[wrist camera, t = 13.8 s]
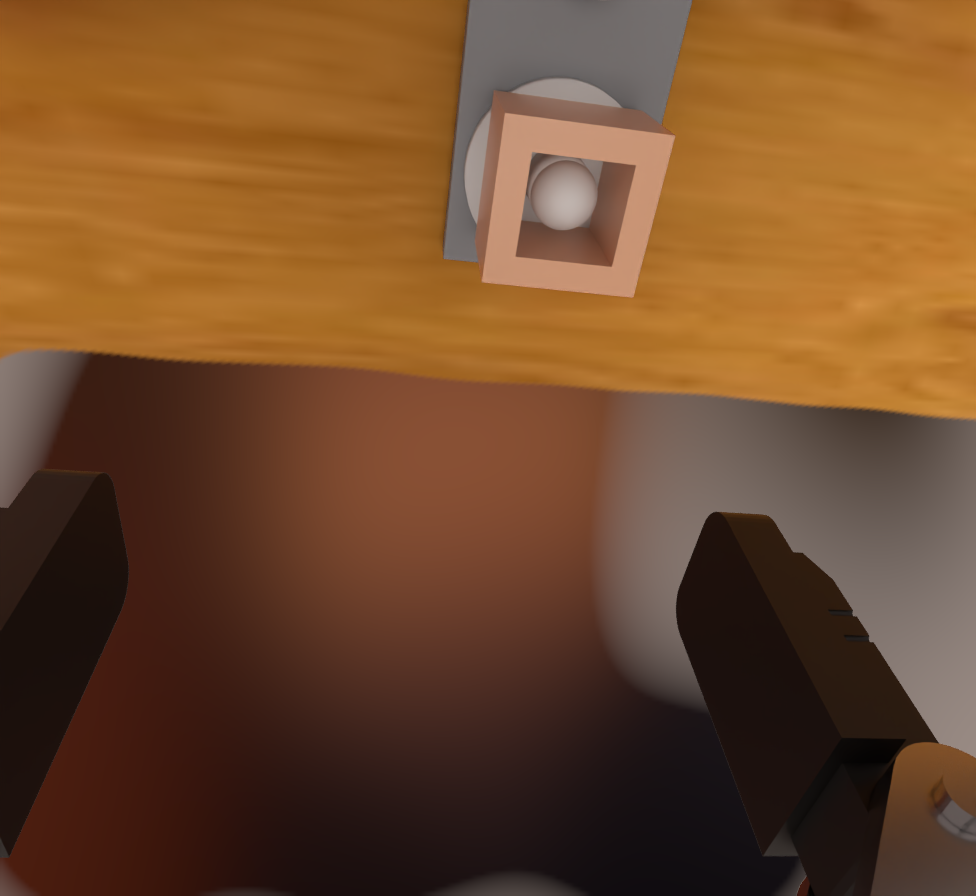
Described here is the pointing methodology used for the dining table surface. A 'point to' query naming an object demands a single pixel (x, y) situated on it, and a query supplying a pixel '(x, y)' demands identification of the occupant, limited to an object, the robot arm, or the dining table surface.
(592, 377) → the dining table surface
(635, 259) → the collar
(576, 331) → the dining table surface
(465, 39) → the hub base
